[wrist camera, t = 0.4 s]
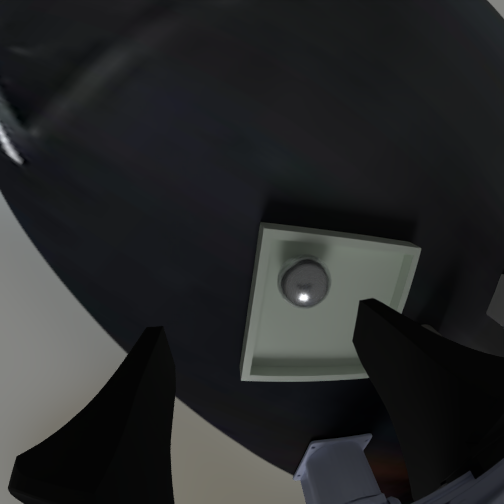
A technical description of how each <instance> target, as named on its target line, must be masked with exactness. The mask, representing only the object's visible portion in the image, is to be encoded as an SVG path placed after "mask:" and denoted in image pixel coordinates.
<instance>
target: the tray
mask: <svg viewBox="0 0 504 504" xmlns="http://www.w3.org/2000/svg"><path fill="white" fill-rule="evenodd" d="M420 252H421V248H420V247H418V246H416V245H414V244H412V243H411V242H408V241H402V240H395V239H388V238H382V237H375V236H368V235H360V234H353V233H346V232H338V231H331V230H323V229H315V228H307V227H299V226H291V225H283V224H274V223H265V222H260V228H259V235H258V242H257V249H256V256H255V263H254V270H253V277H252V284H251V291H250V298H249V305H248V312H247V319H246V326H245V333H244V340H243V347H242V353H241V360H240V376H241V381H278V382H294V381H330V380H348V379H362V378H369V376H368V375H367V373H366V371H365V369H364V368H363V366H362V364H361V362H360V360H359V357H358V355H357V352H356V350H355V347H354V344H353V342H352V339H353V334H354V329H355V323H356V318H357V312H358V306H359V300H364V299H370V298H375V299H377V300H379V301H380V302H382V303H384V304H386V305H387V306H389V307H391V308H392V309H394V310H396V311H397V312H399V313H401V314H402V311H403V308H404V305H405V302H406V299H407V296H408V293H409V290H410V287H411V284H412V280H413V277H414V274H415V270H416V267H417V263H418V259H419V256H420ZM299 254H310V255H314V256H316V257H318V258H320V259H321V260H322V261H323V262H324V263H325V264H326V265H327V267H328V268H329V270H330V273H331V278H332V285H331V289H330V292H329V294H328V296H327V297H326V299H325V300H324V301H323V302H322V303H320V304H319V305H317V306H315V307H313V308H308V309H300V308H296V307H293V306H291V305H289V304H288V303H287V302H286V301H285V300H284V299H283V298H282V297H281V295H280V293H279V290H278V286H277V276H278V273H279V270H280V268H281V266H282V265H283V264H284V263H285V262H286V261H287V260H288V259H289V258H291V257H293V256H295V255H299Z"/></svg>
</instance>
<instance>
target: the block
mask: <svg viewBox="0 0 504 504" xmlns="http://www.w3.org/2000/svg"><path fill="white" fill-rule="evenodd" d="M486 314H487V315H488V316H490V317H491V318H492V319H494V320H495V321H496V322H498V323H499V324H500V325H501V326H503V327H504V274H501V277H500V279H499V282H498V285H497V287H496V290H495V293H494V295H493V298H492V300H491V303H490V305H489V307H488V310H487V312H486Z"/></svg>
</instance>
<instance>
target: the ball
mask: <svg viewBox="0 0 504 504" xmlns="http://www.w3.org/2000/svg"><path fill="white" fill-rule="evenodd" d="M331 285H332V278H331V273H330V270H329V268H328V267H327V265H326V264H325V263H324V262H323V261H322V260H321V259H320V258H318V257H316V256H314V255H310V254H299V255H295V256H293V257H291V258H289V259H288V260H287V261H286V262H285V263H284V264H283V265H282V266H281V268H280V270H279V273H278V276H277V286H278V290H279V293H280V295H281V297H282V298H283V299H284V300H285V301H286V302H287V303H288V304H289V305H291V306H293V307H296V308H300V309H308V308H313V307H315V306H317V305H319V304H320V303H322V302H323V301H324V300H325V299H326V297H327V296H328V294H329V292H330V289H331Z"/></svg>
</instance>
